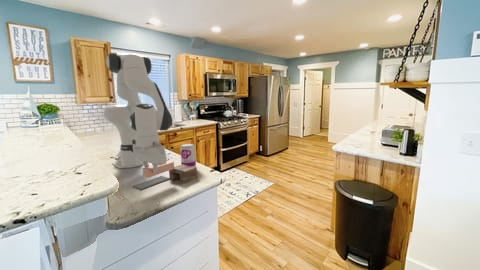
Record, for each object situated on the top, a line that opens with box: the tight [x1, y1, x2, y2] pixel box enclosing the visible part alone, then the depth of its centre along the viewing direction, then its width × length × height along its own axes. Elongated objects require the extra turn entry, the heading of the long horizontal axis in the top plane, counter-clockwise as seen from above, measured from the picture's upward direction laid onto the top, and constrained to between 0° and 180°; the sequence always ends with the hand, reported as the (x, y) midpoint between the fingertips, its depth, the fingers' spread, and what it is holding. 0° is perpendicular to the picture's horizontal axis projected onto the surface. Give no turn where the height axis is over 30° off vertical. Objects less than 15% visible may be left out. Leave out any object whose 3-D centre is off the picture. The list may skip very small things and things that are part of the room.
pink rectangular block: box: [142, 160, 175, 179], centre depth 100 cm, size 4×14×4 cm, turn 145°
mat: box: [132, 175, 170, 191], centre depth 107 cm, size 7×16×1 cm, turn 145°
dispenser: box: [168, 164, 198, 184], centre depth 112 cm, size 11×9×6 cm
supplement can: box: [179, 143, 197, 167], centre depth 125 cm, size 8×8×15 cm
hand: (150, 171), depth 97 cm, fingers closed on pink rectangular block, 4 cm apart
